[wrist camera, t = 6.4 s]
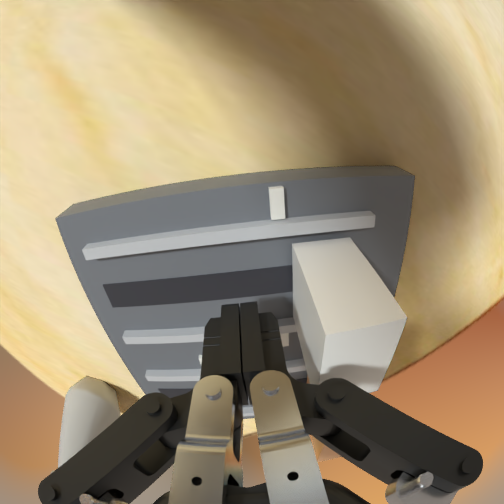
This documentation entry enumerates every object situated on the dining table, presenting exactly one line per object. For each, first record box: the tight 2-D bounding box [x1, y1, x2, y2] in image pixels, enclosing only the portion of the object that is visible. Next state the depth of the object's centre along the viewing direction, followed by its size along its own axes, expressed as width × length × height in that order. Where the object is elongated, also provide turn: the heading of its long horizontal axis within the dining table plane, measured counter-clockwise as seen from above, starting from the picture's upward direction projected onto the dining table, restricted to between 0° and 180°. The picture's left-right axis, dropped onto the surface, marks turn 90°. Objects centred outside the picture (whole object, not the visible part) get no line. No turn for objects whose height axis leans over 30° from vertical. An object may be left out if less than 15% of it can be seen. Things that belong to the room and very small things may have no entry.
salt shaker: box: [51, 376, 120, 473], centre depth 16 cm, size 6×6×13 cm
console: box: [55, 166, 415, 419], centre depth 17 cm, size 20×18×3 cm
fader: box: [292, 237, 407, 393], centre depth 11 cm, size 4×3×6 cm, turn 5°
